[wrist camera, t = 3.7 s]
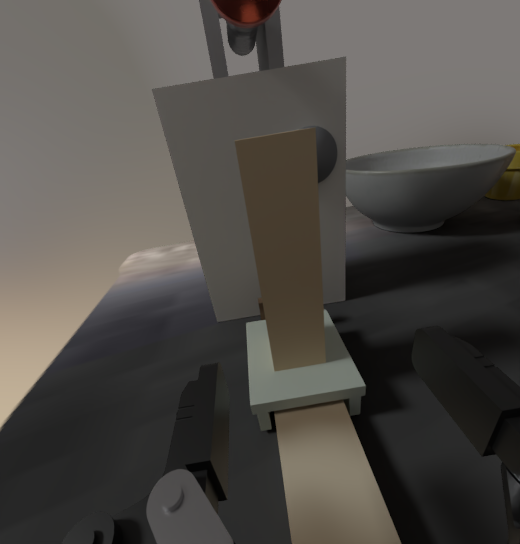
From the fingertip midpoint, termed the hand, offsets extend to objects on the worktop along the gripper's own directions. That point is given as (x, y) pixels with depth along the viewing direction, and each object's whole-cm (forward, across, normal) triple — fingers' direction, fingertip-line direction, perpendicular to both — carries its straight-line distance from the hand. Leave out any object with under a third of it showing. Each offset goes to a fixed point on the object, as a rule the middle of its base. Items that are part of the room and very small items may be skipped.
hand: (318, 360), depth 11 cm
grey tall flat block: (+22, 0, +11) cm, 25 cm away
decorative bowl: (+41, -29, +11) cm, 51 cm away
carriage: (+9, 0, +11) cm, 14 cm away
